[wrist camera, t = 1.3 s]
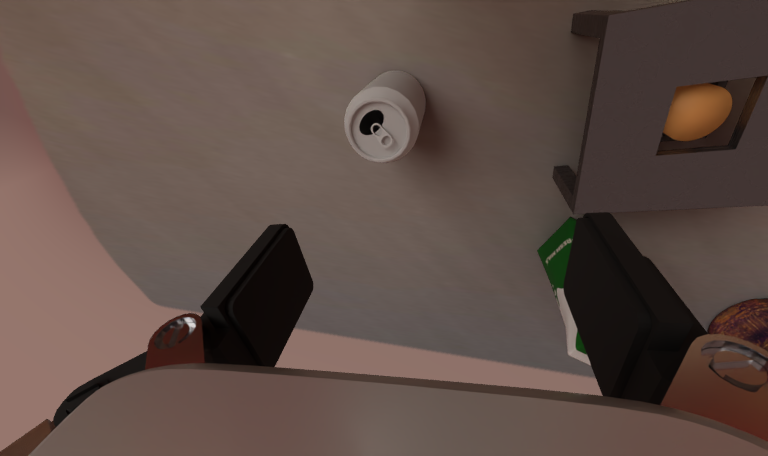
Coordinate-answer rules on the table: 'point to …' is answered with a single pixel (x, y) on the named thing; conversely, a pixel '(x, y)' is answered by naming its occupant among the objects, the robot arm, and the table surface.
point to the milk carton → (555, 265)
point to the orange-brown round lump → (697, 111)
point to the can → (386, 117)
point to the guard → (653, 101)
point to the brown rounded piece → (744, 322)
